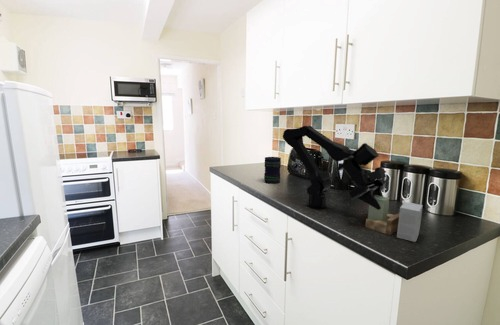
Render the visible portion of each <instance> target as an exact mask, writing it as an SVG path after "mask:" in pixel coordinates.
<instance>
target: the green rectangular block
mask: <svg viewBox="0 0 500 325" xmlns="http://www.w3.org/2000/svg"><path fill="white" fill-rule="evenodd" d="M374 197H375V199H376V200H377V202H378V204H379V205H380V207H381V209H379V210H378V209H376V208H374V207H373V206H371V205H369V204H368V212H367V219H368V218H369V219H372V220H375V221H377V220H381V221H384V222H387V214H389V213H388V212H389V204H390V197H386V196H384V195H383V196H378V195H374Z"/></svg>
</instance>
